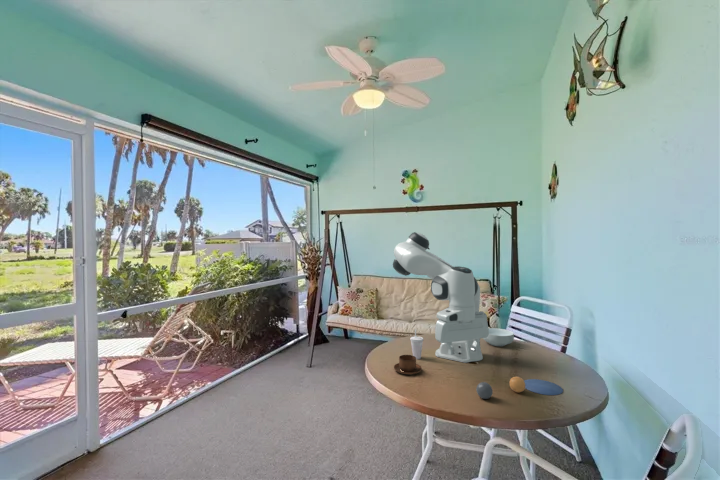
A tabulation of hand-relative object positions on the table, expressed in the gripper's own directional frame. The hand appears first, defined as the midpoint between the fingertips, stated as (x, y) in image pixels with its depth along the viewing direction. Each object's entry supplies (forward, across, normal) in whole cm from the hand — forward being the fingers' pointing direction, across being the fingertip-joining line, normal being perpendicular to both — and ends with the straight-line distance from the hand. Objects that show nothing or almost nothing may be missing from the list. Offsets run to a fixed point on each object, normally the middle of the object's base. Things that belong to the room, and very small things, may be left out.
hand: (462, 352), depth 119 cm
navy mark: (+18, -36, 0) cm, 40 cm away
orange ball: (+15, -24, 0) cm, 28 cm away
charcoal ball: (+15, -9, 0) cm, 17 cm away
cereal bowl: (+18, -60, -50) cm, 80 cm away
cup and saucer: (+18, +5, -33) cm, 38 cm away
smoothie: (+18, -7, -46) cm, 50 cm away
